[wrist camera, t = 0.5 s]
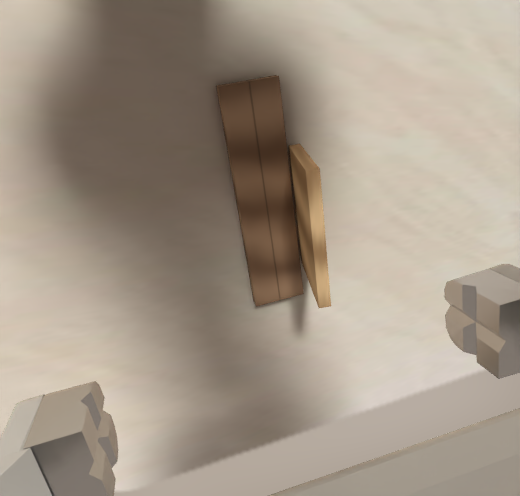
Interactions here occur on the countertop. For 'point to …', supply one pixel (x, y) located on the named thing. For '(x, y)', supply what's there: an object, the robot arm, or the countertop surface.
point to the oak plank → (310, 222)
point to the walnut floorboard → (262, 186)
